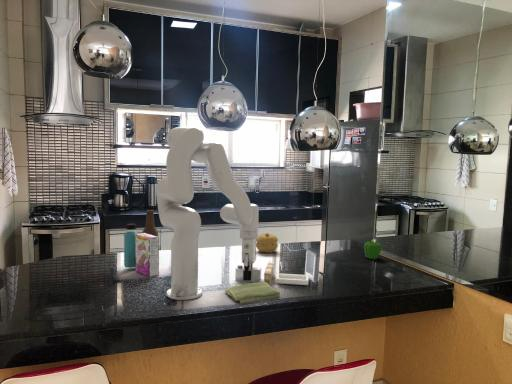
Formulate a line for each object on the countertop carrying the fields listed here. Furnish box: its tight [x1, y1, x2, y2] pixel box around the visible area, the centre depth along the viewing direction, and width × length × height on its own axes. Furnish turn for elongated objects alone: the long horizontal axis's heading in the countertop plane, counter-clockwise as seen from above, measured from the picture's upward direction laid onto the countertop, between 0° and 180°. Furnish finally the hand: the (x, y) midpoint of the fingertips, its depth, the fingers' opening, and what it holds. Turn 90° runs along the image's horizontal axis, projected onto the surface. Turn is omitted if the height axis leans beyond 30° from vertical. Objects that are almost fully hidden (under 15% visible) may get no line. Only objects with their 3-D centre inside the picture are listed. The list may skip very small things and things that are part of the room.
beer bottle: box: [141, 209, 159, 237], centre depth 189 cm, size 8×8×24 cm
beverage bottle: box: [123, 223, 140, 269], centre depth 174 cm, size 6×7×20 cm
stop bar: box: [234, 264, 262, 283], centre depth 164 cm, size 4×10×6 cm, turn 83°
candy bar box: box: [135, 232, 160, 278], centre depth 168 cm, size 11×5×16 cm, turn 47°
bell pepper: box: [363, 239, 382, 260], centre depth 203 cm, size 8×8×10 cm
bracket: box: [275, 273, 309, 286], centre depth 163 cm, size 8×13×2 cm, turn 83°
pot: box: [256, 232, 279, 254], centre depth 213 cm, size 12×12×10 cm
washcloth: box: [224, 280, 281, 304], centre depth 145 cm, size 13×18×3 cm
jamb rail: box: [263, 262, 275, 286], centre depth 164 cm, size 16×2×5 cm, turn 173°
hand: (247, 277), depth 164 cm, fingers open, 4 cm apart
